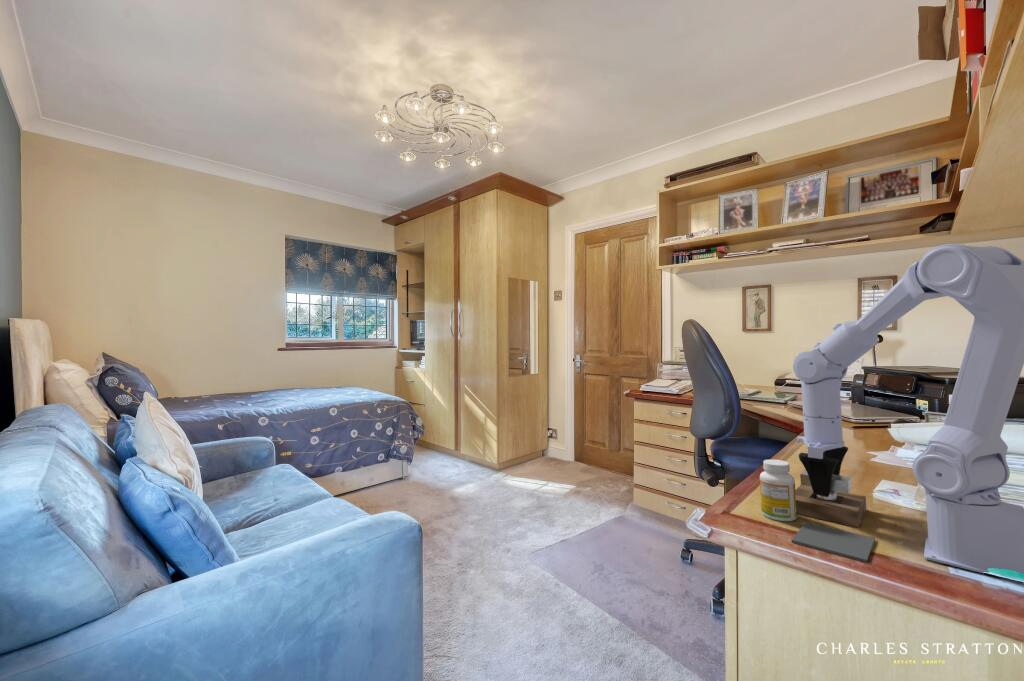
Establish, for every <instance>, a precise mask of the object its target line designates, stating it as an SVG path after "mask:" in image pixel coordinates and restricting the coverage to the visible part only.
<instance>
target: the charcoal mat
mask: <svg viewBox="0 0 1024 681" xmlns="http://www.w3.org/2000/svg"><path fill="white" fill-rule="evenodd" d="M875 542H876V538H875V537H872V536H869V535H865V534H860V533H855V532H851V531H848V530H847V531H846V530H843V529H837V528H833V527H829V526H825V525H821V524H816V523H813V522H808V521H804V523H803V525H801V527H800V528H799V529H798V531H797V533H796V534H795V535H794V536H793V537H792V539H791V543H793V544H795V545H799V546H800V545H801V546H804V547H808V548H811V549H815V550H819V551H821V552H826V553H829V554H834V555H837V556H841V557H843V558H848V559H852V560H856V561H859V562H863V563H868V561H869V559H870V555H871V552H872V549H873V547H874V544H875Z"/></svg>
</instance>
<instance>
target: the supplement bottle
mask: <svg viewBox="0 0 1024 681" xmlns="http://www.w3.org/2000/svg"><path fill="white" fill-rule="evenodd" d="M763 470H764V471H761V473H760V475H759V491H760V492H759V493H760V508H761V509H760V510H761V513H762V515H763V516H764V517H766V518H768V519H770V520H775V521H780V522H793V521H795V520H796V519H797V517H798V516H797V515H798V514H797V512H796V494H795V490H796V482H795V478H794V476H793V475H791V474H790V471H791V470H790V463H789V462H788V461H786V460H781V459H764V460H763Z"/></svg>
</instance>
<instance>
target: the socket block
mask: <svg viewBox="0 0 1024 681" xmlns="http://www.w3.org/2000/svg"><path fill="white" fill-rule="evenodd" d="M836 493H837V503H833V502H828V501H823V500H818V499H817V498H816V495H815V494H814V492H813V489H812V487H811V486H805V485H801V484H799V486H798V487H797V488H795V494H796V512H797V515H800V516H806V517H810V518H814V519H817V520H818V519H819V520H824V521H827V522H831V523H837V524H840V525H845V526H848V527H849V526H850V527H855V528H859V527H860V525H861V522H862V521H863V519H864V516H865V514H866V512H867V497H866V496H865V495H861V494H856V493H851V492H849V493H844V492H838V491H836Z"/></svg>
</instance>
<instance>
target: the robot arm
mask: <svg viewBox="0 0 1024 681" xmlns="http://www.w3.org/2000/svg"><path fill="white" fill-rule="evenodd" d="M944 297H948V298H952V299H954V300H955V301H956V302H957V303H958V304H960V306H962V307H963V308H964V309H965V310H967V311H968V312H969V313H970V314H971V315H973V317H974V319H973V323H972V326H971V329H970V333H969V337H968V339H967V344H966V346H965V350H964V353H963V357H962V360H961V363H960V368H959V370H958V374H957V377H956V382H955V385H954V387H953V391H952V394H951V399H950V402H949V403H948V404H949V405H948V408H947V412H946V415H945V418H944V421H943V425H942V426H941V427H940V428H939V429H938V430H937V431H936V432H935V433H934V434H933V435H932V436H931V437H930V438H929V439H928V441H927V445H926V447H925V449H924V450H923V451H922V453H920V454H919V455H917V456H916V457H915V458H914V460H913V462H912V473H913V476H914V477H915V480H916V481H917V482H918V484H920V485H921V487H923V488H924V494H925V507H926V508H925V509H926V522H927V537H925V544H924V550H923V558H924V559H925V560H927V561H933V562H937V563H940V564H945V565H947V566H948V565H949V566H952V567H957V568H960V569H964V570H969V571H973V572H977V573H980V574H984V573H983V572H989V571H988V570H987V569H988V568H995V569H996V568H998V569H1007V570H1013V571H1016V572H1019V573H1022V574H1024V506H1023V505H1020V504H1014V503H1010V502H1006V501H1002V499H1001V498H1002V497H1001V494H1000V492H999V488H1001V487H1003V486H1004V485H1006V484H1007V482H1009V480H1010V472H1011V471H1010V468H1009V465H1008V462H1007V452H1008V450H1009V447H1008V444H1007V443H1006V442H1005V441H1004V440H1003V438H1002V436H1001V435H1002V431H1003V429H1004V425H1005V423H1006V421H1007V420H1006V419H1007V416H1008V413H1009V411H1010V407H1011V404H1012V401H1013V399H1014V395H1015V392H1016V389H1017V386H1018V383H1019V379H1020V377H1021V373H1022V370H1023V368H1024V260H1023V259H1021V258H1019V257H1018V256H1017V255H1015V254H1013V253H1012V252H1010V251H1009V250H1007V249H1005V248H1002V247H1001V246H995V245H994V246H992V245H987V246H977V245H976V246H975V245H965V244H960V243H946V244H942V245H938V246H935V247H932V249H930V250H928V251H927V252H926V253H925V254H923V256H922V257H921V258H920V260H919V261H918V260H917V261H916V262H914V263H913V264H911V265H910V266H909V267H908V268H907V269H906V271H905V273H904V274H903V276H902V277H900V279H899V280H898V281H897V282H896V284H894V285H893V286H892V287H891V288H890V289H889V290H888V291H886V293H885V294H884V295H883V296H881V298H880V299H879V300H878V301H876V302H875V304H873V305H872V306H871V307H870V308H869V309H868V310H867V311H866V312H865V313H864V314H863V315H862V316H861V317H860V318H859V319H858V320H857V321H856V320H848V321H843V323H836V324H835V325H834V326H833V327H832V330H833V331H832V332H831V333H830V334H829V335H828V336H827V337H826V338H824V339H823V340H822V341H821V342H817V343H816V344H815V345H814V346H813V348H814V349H812V350H805V351H801V352H799V353H798V354H797V356H796V357H795V359H794V360H793V364H792V369H793V372H794V375H795V377H796V378H797V379H798V380H800V381H801V383H800V386H801V398H802V399H801V400H802V401H801V403H802V418H803V419H802V420H803V435H804V436H803V435H799V436H797V437H796V441H797V442H801V443H804V445H805V446H806V447H807V452H800V453H799V454H798V458H799V461H800V462H801V465H803V467H804V470H806V471H807V473H808V476H809V479H810V483H811V486H812V489H813V492H814V494H815V495H820V496H826V497H828V496H829V494H830V490H831V483H832V476H833V474H834V475H840V473H841V468H842V463H843V461H844V459H845V456H846V454H847V452H848V451H849V447H847V446H845V440H844V439H843V438H844V437H843V434H844V433H843V418H842V402H841V388H842V381H843V379H844V378H845V377H846V375H847V373H848V368H849V367H851V365H852V364H854V363H855V362H857V360H859V359H860V358H861V357H862V356H864V355H865V354H866V353H868V352H869V351H871V350H872V349H873V348H874V347H876V346H877V345H878V342H879V340H878V339H879V338H878V335H879V333H881V332H882V331H884V330H885V329H886V328H888V327H890V325H893V324H894V323H895V322H896V321H898V320H899V319H901V318H902V317H903V316H905V315H906V314H908V313H909V312H910V311H912V310H913V309H915V308H916V307H917V306H918V305H920V304H922V303H923V302H925V301H928V300H934V299H938V298H944Z"/></svg>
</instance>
